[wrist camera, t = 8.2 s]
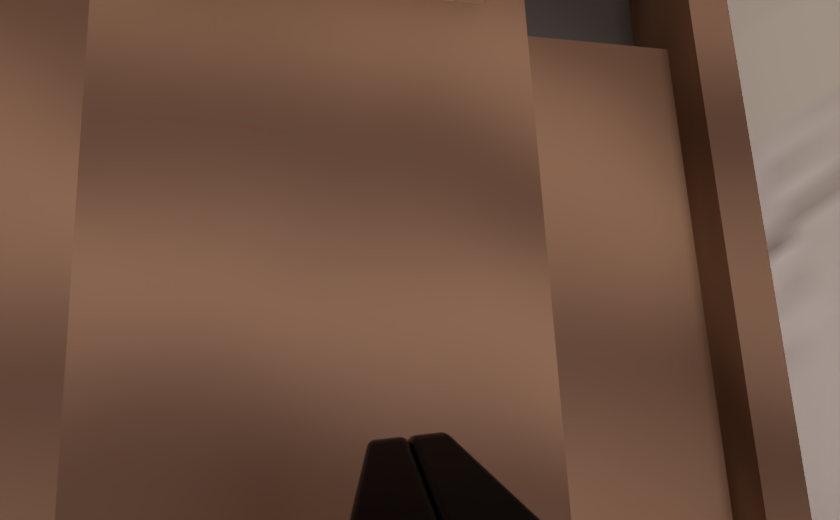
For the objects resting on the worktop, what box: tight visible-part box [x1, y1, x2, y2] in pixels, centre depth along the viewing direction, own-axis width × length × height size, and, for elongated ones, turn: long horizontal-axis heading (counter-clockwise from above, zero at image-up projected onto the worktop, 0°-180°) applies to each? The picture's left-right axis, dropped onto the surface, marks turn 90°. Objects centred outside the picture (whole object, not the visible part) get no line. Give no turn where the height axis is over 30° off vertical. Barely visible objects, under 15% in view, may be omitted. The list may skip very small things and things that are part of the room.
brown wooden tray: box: [0, 0, 812, 520], centre depth 13 cm, size 26×18×6 cm
